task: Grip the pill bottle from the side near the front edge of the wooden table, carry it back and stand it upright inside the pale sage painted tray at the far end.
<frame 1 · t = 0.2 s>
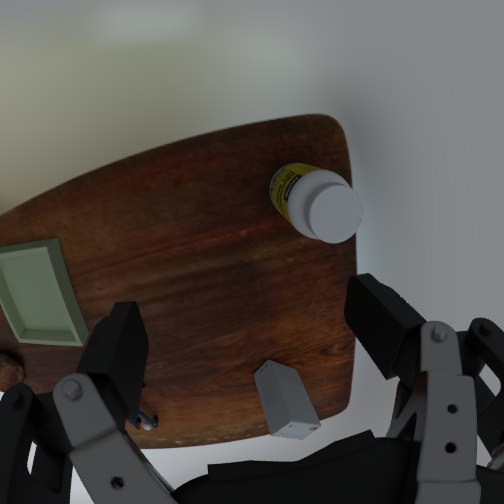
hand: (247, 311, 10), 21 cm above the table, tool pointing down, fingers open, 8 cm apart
person figurine: (125, 392, 39), on the table
cosmetic box: (275, 370, 41), on the table
tray: (37, 291, 29), on the table
pill bottle: (294, 189, 30), on the table
fossil: (10, 362, 33), on the table
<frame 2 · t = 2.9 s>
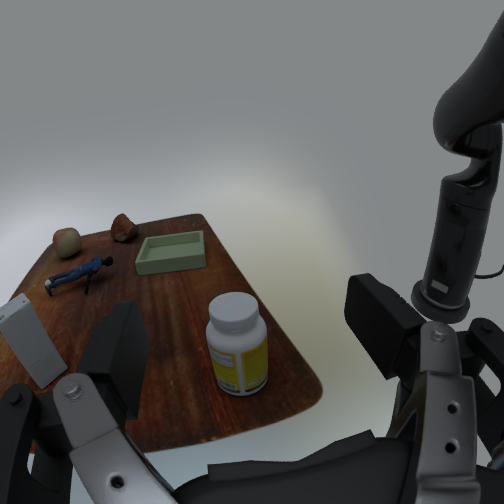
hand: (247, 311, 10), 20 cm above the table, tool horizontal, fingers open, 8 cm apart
person figurine: (81, 285, 51), on the table
cosmetic box: (50, 375, 28), on the table
tray: (173, 257, 61), on the table
pill bottle: (242, 378, 30), on the table
fossil: (126, 238, 74), on the table
apple: (71, 256, 65), on the table
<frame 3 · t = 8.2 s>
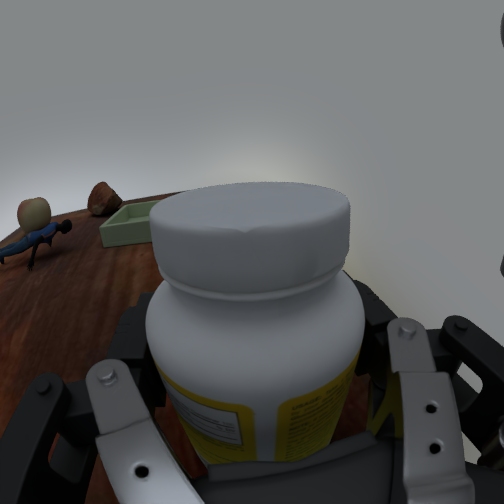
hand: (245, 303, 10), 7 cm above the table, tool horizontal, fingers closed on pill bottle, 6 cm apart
person figurine: (32, 261, 32), on the table
tray: (157, 227, 42), on the table
pill bottle: (261, 440, 11), on the table, touching gripper
fossil: (106, 213, 57), on the table
apple: (38, 232, 47), on the table
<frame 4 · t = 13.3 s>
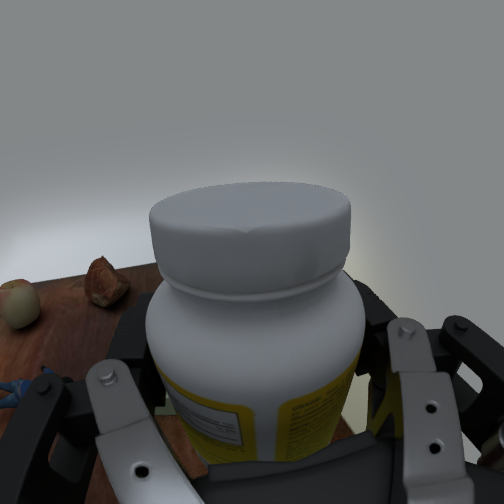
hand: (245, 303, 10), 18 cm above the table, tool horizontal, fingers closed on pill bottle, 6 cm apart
person figurine: (32, 409, 19), on the table
pill bottle: (261, 440, 11), point 11 cm above the table, touching gripper
fossil: (111, 296, 44), on the table
apple: (28, 323, 34), on the table
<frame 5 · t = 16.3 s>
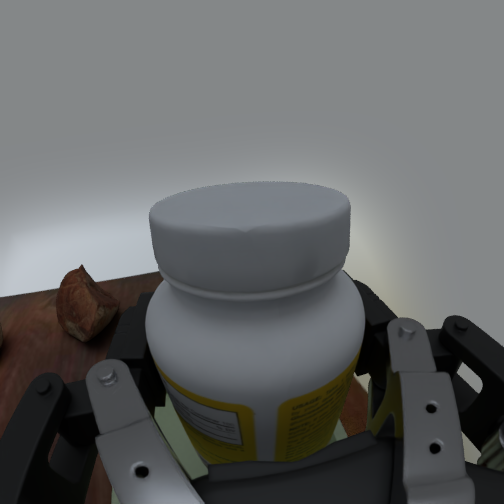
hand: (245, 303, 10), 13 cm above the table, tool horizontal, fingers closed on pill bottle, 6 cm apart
tray: (231, 454, 15), on the table
pill bottle: (261, 440, 11), point 6 cm above the table, touching gripper
fossil: (93, 323, 29), on the table
when the fingers open (7 cm above the table, at t = 18.5 s): pill bottle stays where it is, resting on tray.
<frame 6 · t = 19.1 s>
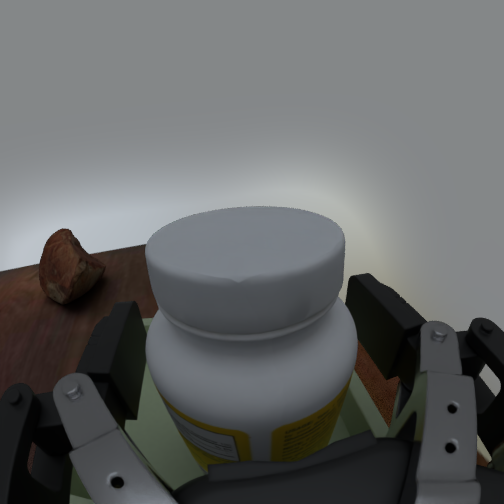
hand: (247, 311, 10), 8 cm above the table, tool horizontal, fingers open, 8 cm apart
tray: (218, 425, 13), on the table
pill bottle: (259, 449, 11), resting on tray
fossil: (77, 289, 27), on the table
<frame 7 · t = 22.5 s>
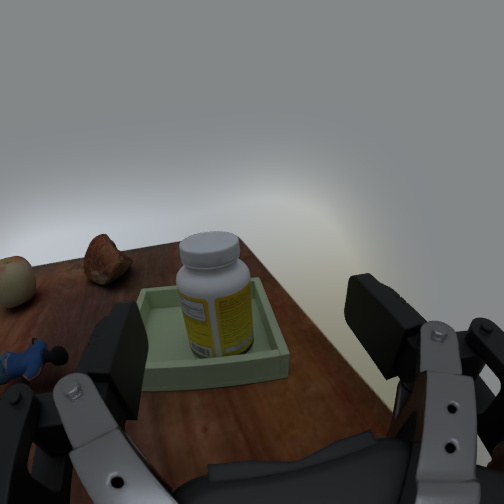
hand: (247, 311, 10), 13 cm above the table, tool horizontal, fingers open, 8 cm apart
person figurine: (19, 389, 17), on the table
tray: (203, 339, 27), on the table
pill bottle: (222, 348, 26), resting on tray
fossil: (111, 276, 42), on the table
apple: (22, 304, 32), on the table
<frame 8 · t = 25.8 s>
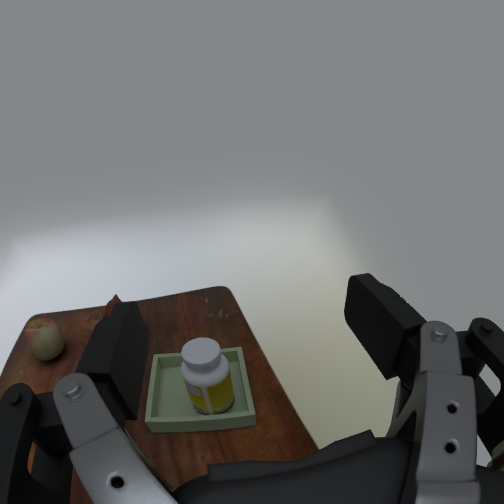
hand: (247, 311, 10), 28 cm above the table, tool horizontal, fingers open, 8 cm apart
tray: (200, 394, 37), on the table
pill bottle: (214, 403, 35), resting on tray
fossil: (125, 330, 51), on the table
apple: (53, 354, 42), on the table
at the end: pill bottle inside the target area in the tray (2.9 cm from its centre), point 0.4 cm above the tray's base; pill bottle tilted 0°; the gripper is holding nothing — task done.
